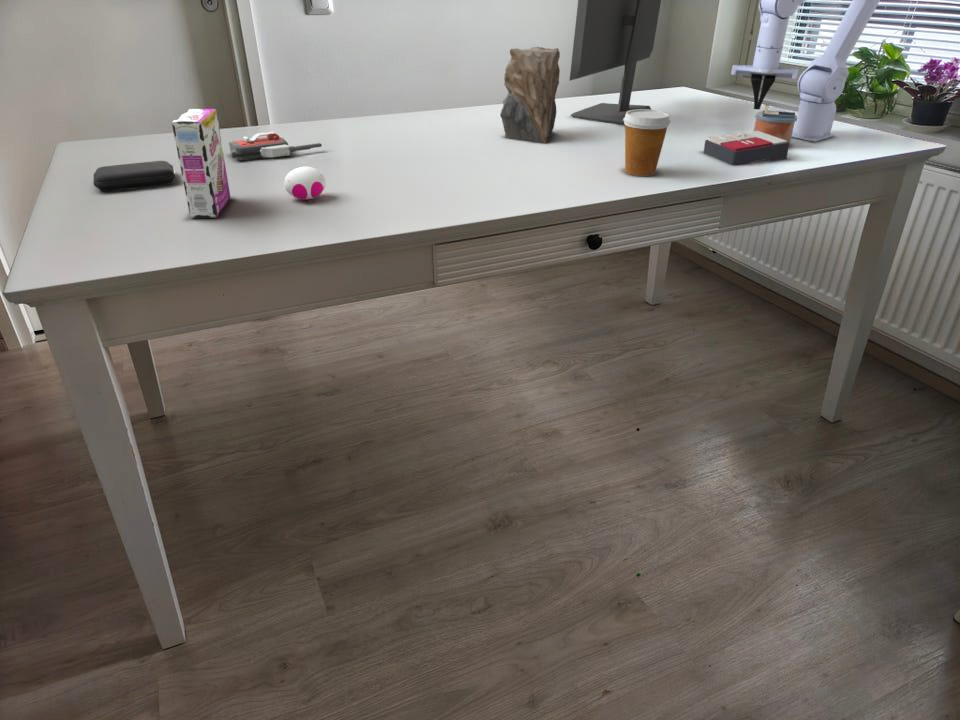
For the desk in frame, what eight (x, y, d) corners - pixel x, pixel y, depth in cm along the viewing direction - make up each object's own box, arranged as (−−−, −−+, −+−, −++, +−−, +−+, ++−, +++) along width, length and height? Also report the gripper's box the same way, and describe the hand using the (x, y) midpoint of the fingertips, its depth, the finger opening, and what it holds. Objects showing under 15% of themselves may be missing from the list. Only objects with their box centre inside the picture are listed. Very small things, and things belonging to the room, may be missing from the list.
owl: (498, 137, 173) (500, 49, 163) (518, 126, 183) (522, 43, 172) (545, 143, 168) (551, 54, 158) (564, 132, 178) (570, 47, 168)
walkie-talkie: (236, 164, 151) (324, 152, 160) (232, 143, 148) (322, 132, 158) (224, 155, 157) (309, 143, 166) (221, 135, 155) (307, 124, 164)
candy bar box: (219, 218, 123) (200, 121, 114) (189, 219, 122) (169, 122, 114) (232, 197, 132) (217, 107, 124) (205, 198, 132) (187, 107, 123)
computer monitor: (619, 99, 214) (636, -52, 193) (669, 106, 206) (692, -51, 185) (545, 126, 184) (555, -51, 163) (601, 135, 176) (619, -49, 155)
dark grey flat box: (704, 136, 161) (758, 128, 165) (702, 155, 163) (755, 146, 167) (735, 148, 152) (791, 139, 156) (732, 168, 155) (787, 158, 159)
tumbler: (749, 146, 168) (755, 115, 164) (750, 137, 176) (756, 107, 172) (790, 150, 165) (798, 118, 162) (790, 141, 173) (797, 110, 169)
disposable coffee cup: (636, 181, 144) (644, 120, 137) (608, 169, 151) (614, 111, 145) (672, 175, 147) (681, 116, 141) (643, 163, 155) (651, 107, 148)
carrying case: (173, 170, 146) (95, 179, 141) (170, 156, 145) (91, 164, 139) (178, 185, 138) (95, 194, 133) (175, 169, 137) (91, 178, 131)
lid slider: (764, 114, 167) (765, 106, 166) (764, 112, 169) (766, 104, 168) (778, 115, 166) (780, 107, 165) (778, 113, 168) (780, 105, 167)
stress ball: (291, 220, 131) (290, 198, 126) (282, 186, 134) (280, 163, 128) (331, 213, 134) (331, 191, 128) (321, 180, 137) (321, 157, 131)
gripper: (735, 47, 160) (724, 109, 167) (803, 51, 155) (789, 114, 162) (737, 43, 165) (726, 103, 172) (803, 47, 161) (789, 108, 168)
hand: (756, 108), depth 168 cm, fingers closed
